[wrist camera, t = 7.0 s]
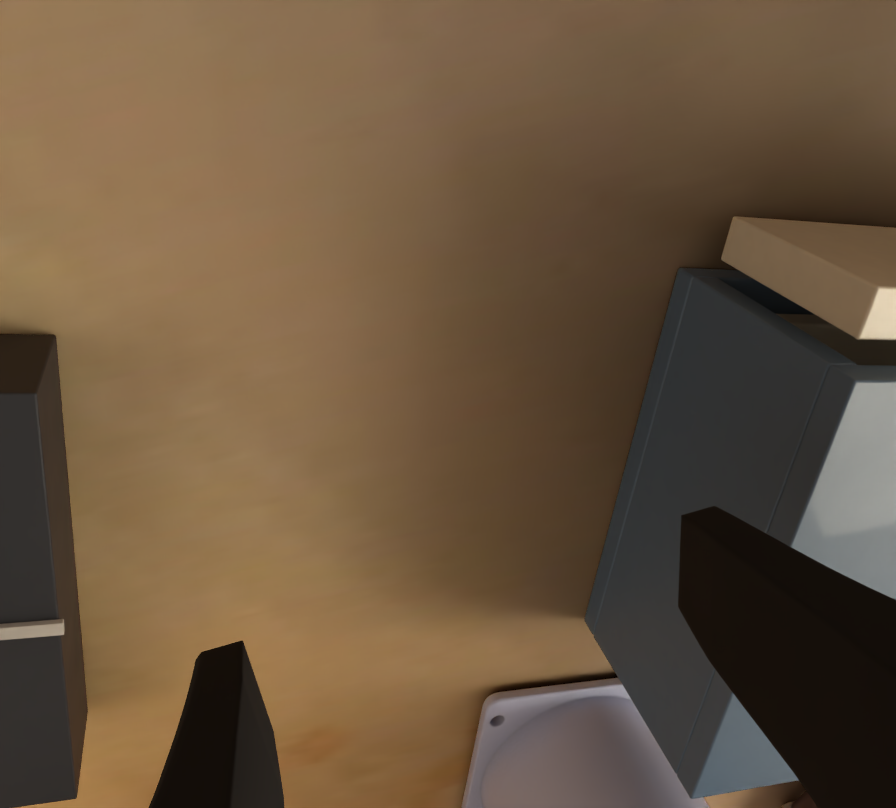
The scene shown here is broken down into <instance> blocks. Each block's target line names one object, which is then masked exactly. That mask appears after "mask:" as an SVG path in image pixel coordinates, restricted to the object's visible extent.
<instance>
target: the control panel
mask: <svg viewBox="0 0 896 808" xmlns="http://www.w3.org/2000/svg"><path fill="white" fill-rule="evenodd" d="M87 712H88V709H87V697H86V685H85V674H84V662H83V650H82V638H81V626H80V615H79V603H78V591H77V579H76V567H75V555H74V544H73V532H72V520H71V508H70V496H69V484H68V473H67V461H66V449H65V437H64V425H63V413H62V402H61V390H60V378H59V366H58V354H57V343H56V336H55V335H23V334H0V808H14V807H21V806H28V805H35V804H42V803H49V802H57V801H64V800H71V799H76V797H77V793H78V785H79V777H80V769H81V761H82V753H83V745H84V737H85V729H86V721H87Z"/></svg>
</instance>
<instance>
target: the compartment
mask: <svg viewBox="0 0 896 808" xmlns="http://www.w3.org/2000/svg"><path fill="white" fill-rule="evenodd" d="M777 314H805V315H815V314H813V313H811V312H810V311H808V310H806V309H804V308H803V307H801V306H799V305H798V304H796V303H794V302H792V301H791V300H789V299H787V298H785V297H784V296H782V295H780V294H779V293H777V292H775V291H773V290H772V289H770V288H768V287H766V286H765V285H763V284H761V283H760V282H758V281H756V280H754V279H753V278H751V277H749V276H748V275H746V274H744V273H742V272H741V271H739V270H719V269H699V268H679V269H678V272H677V276H676V279H675V283H674V287H673V291H672V294H671V298H670V302H669V305H668V309H667V313H666V317H665V320H664V324H663V328H662V332H661V335H660V339H659V343H658V346H657V350H656V354H655V358H654V361H653V365H652V369H651V373H650V376H649V380H648V384H647V387H646V391H645V395H644V399H643V402H642V406H641V410H640V414H639V417H638V421H637V425H636V428H635V432H634V436H633V440H632V443H631V447H630V451H629V455H628V458H627V462H626V466H625V469H624V473H623V477H622V481H621V484H620V488H619V492H618V496H617V499H616V503H615V507H614V510H613V514H612V518H611V522H610V525H609V529H608V533H607V537H606V540H605V544H604V548H603V552H602V555H601V559H600V563H599V566H598V570H597V574H596V578H595V581H594V585H593V589H592V593H591V596H590V600H589V604H588V607H587V611H586V615H585V622H586V624H587V626H588V627H589V629H590V631H591V632H592V634H593V635H594V638H595V640H596V641H597V643H598V645H599V646H600V648H601V650H602V651H603V653H604V655H605V656H606V658H607V660H608V661H609V663H610V665H611V666H612V668H613V670H614V671H615V673H616V675H617V676H618V678H619V680H620V681H621V683H622V685H623V686H624V688H625V690H626V691H627V693H628V695H629V696H630V698H631V700H632V701H633V703H634V705H635V707H636V708H637V710H638V712H639V713H640V715H641V717H642V718H643V720H644V722H645V723H646V725H647V727H648V728H649V730H650V732H651V733H652V735H653V737H654V738H655V740H656V742H657V743H658V745H659V747H660V748H661V750H662V752H663V753H664V755H665V757H666V758H667V760H668V762H669V763H670V765H671V767H672V768H673V770H674V772H675V773H676V774H677V777H678V779H679V780H680V782H681V784H682V785H683V787H684V789H685V790H686V792H687V794H688V795H689V797H690V798H691V799H695V798H701V797H707V796H712V795H718V794H724V793H729V792H735V791H741V790H747V789H752V788H758V787H764V786H769V785H775V784H781V783H786V782H792V781H798V778H797V777H796V775H795V774H794V773H793V771H792V770H791V769H790V767H789V766H788V765H787V763H786V762H785V761H784V759H783V758H782V757H781V755H780V754H779V753H778V752H777V750H776V749H775V748H774V746H773V745H772V744H771V742H770V741H769V740H768V738H767V737H766V736H765V734H764V733H763V732H762V731H761V729H760V728H759V727H758V725H757V724H756V723H755V721H754V720H753V719H752V717H751V716H750V715H749V713H748V712H747V711H746V710H745V708H744V707H743V706H742V704H741V703H740V702H739V700H738V699H737V698H736V696H735V695H734V694H733V692H732V691H731V690H730V688H729V687H728V686H727V684H726V683H725V682H724V680H723V679H722V678H721V676H720V675H719V674H718V672H717V671H716V670H715V668H714V667H713V665H712V664H711V663H710V661H709V660H708V658H707V657H706V655H705V653H704V652H703V650H702V648H701V647H700V645H699V643H698V641H697V640H696V638H695V636H694V635H693V633H692V631H691V629H690V627H689V626H688V624H687V622H686V620H685V618H684V617H683V615H682V613H681V611H680V609H679V608H678V592H679V563H680V535H681V515H684V514H687V513H691V512H694V511H698V510H701V509H705V508H708V507H712V506H716V507H718V508H720V509H722V510H724V511H726V512H728V513H730V514H732V515H733V516H735V517H737V518H739V519H741V520H743V521H744V522H746V523H748V524H750V525H752V526H753V527H755V528H757V529H759V530H761V531H762V532H764V533H766V534H768V535H770V536H772V537H773V538H775V539H777V540H779V541H781V542H782V543H784V544H786V545H788V546H790V547H792V548H793V549H795V550H797V551H799V552H801V553H803V554H804V555H806V556H808V557H810V558H812V559H814V560H816V561H818V562H820V563H821V564H823V565H825V566H827V567H829V568H831V569H833V570H835V571H837V572H839V573H841V574H843V575H845V576H847V577H849V578H851V579H853V580H855V581H857V582H859V583H861V584H863V585H865V586H867V587H869V588H871V589H873V590H876V591H878V592H880V593H882V594H884V595H886V596H888V597H891V598H893V599H895V600H896V366H888V365H857V364H856V363H855V362H853V361H851V360H850V359H848V358H847V357H845V356H843V355H842V354H840V353H838V352H837V351H835V350H834V349H832V348H830V347H829V346H827V345H825V344H824V343H822V342H821V341H819V340H817V339H816V338H814V337H812V336H811V335H809V334H808V333H806V332H804V331H803V330H801V329H799V328H798V327H796V326H795V325H793V324H791V323H790V322H788V321H786V320H785V319H783V318H782V317H780V316H778V315H777Z"/></svg>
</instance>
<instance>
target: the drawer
mask: <svg viewBox="0 0 896 808" xmlns="http://www.w3.org/2000/svg"><path fill="white" fill-rule="evenodd" d="M721 260H722V261H723V262H725V263H727V264H729V265H730V266H732V267H734V268H735V269H737V270H739V271H741V272H742V273H744V274H746V275H748V276H749V277H751V278H753V279H754V280H756V281H758V282H760V283H761V284H763V285H765V286H766V287H768V288H770V289H772V290H773V291H775V292H777V293H779V294H780V295H782V296H784V297H785V298H787V299H789V300H791V301H792V302H794V303H796V304H798V305H799V306H801V307H803V308H804V309H806V310H808V311H810V312H811V313H813V314H815V315H805V314H777V315H778V316H780V317H782V318H783V319H785V320H786V321H788V322H790V323H791V324H793V325H795V326H796V327H798V328H799V329H801V330H803V331H804V332H806V333H808V334H809V335H811V336H812V337H814V338H816V339H817V340H819V341H821V342H822V343H824V344H825V345H827V346H829V347H830V348H832V349H834V350H835V351H837V352H838V353H840V354H842V355H843V356H845V357H847V358H848V359H850V360H851V361H853V362H855V363H856V364H857V365H888V366H896V228H892V227H878V226H864V225H849V224H835V223H821V222H807V221H793V220H779V219H765V218H751V217H733V219H732V222H731V226H730V229H729V233H728V236H727V240H726V243H725V246H724V250H723V253H722V257H721Z"/></svg>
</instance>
